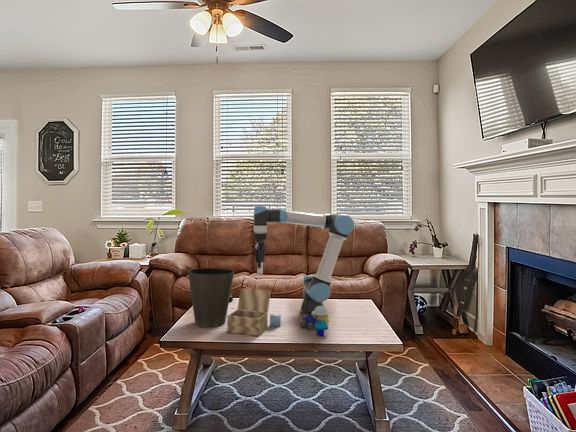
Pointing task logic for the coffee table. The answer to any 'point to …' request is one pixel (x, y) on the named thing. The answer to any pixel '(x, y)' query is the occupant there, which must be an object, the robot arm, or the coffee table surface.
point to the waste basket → (210, 295)
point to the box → (247, 322)
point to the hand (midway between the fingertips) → (260, 273)
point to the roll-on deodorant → (275, 320)
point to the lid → (254, 300)
